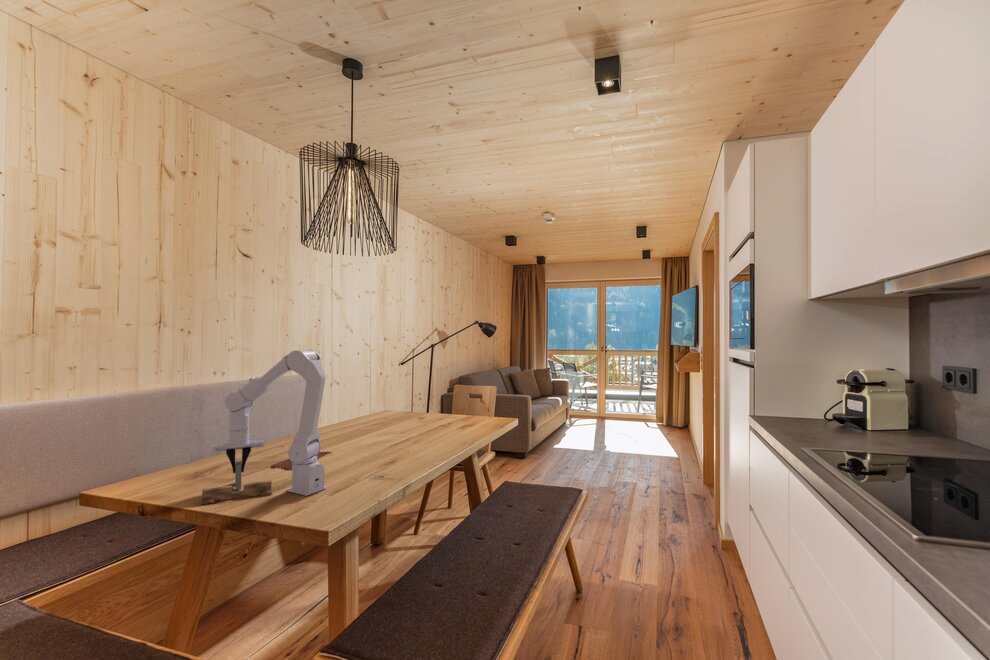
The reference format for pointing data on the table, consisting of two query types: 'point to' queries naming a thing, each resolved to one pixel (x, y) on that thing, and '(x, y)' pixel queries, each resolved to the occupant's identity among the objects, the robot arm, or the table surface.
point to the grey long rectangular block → (238, 474)
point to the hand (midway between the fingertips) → (238, 471)
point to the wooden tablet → (288, 463)
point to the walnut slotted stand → (226, 491)
